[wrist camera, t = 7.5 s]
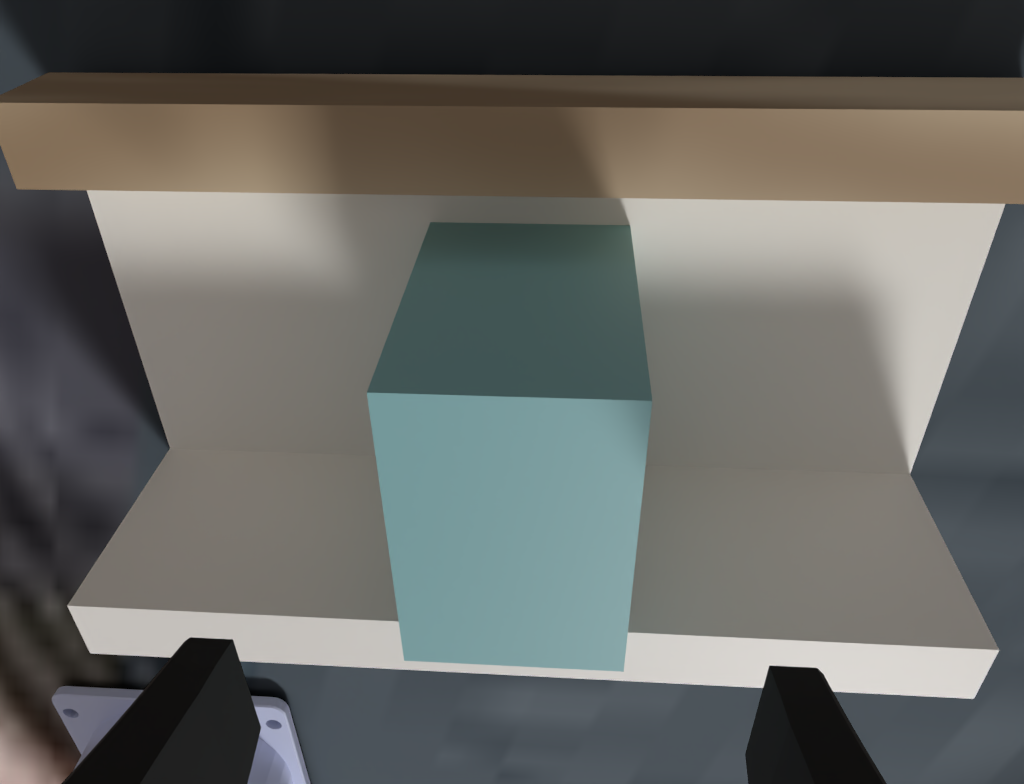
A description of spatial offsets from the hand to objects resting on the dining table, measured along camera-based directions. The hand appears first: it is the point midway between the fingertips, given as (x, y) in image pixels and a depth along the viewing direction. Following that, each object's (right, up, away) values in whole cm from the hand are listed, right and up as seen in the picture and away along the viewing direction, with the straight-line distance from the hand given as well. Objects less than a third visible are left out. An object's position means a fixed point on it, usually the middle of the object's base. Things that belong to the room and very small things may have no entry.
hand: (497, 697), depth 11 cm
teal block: (+1, +5, +7) cm, 9 cm away
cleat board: (+1, +5, +7) cm, 9 cm away
